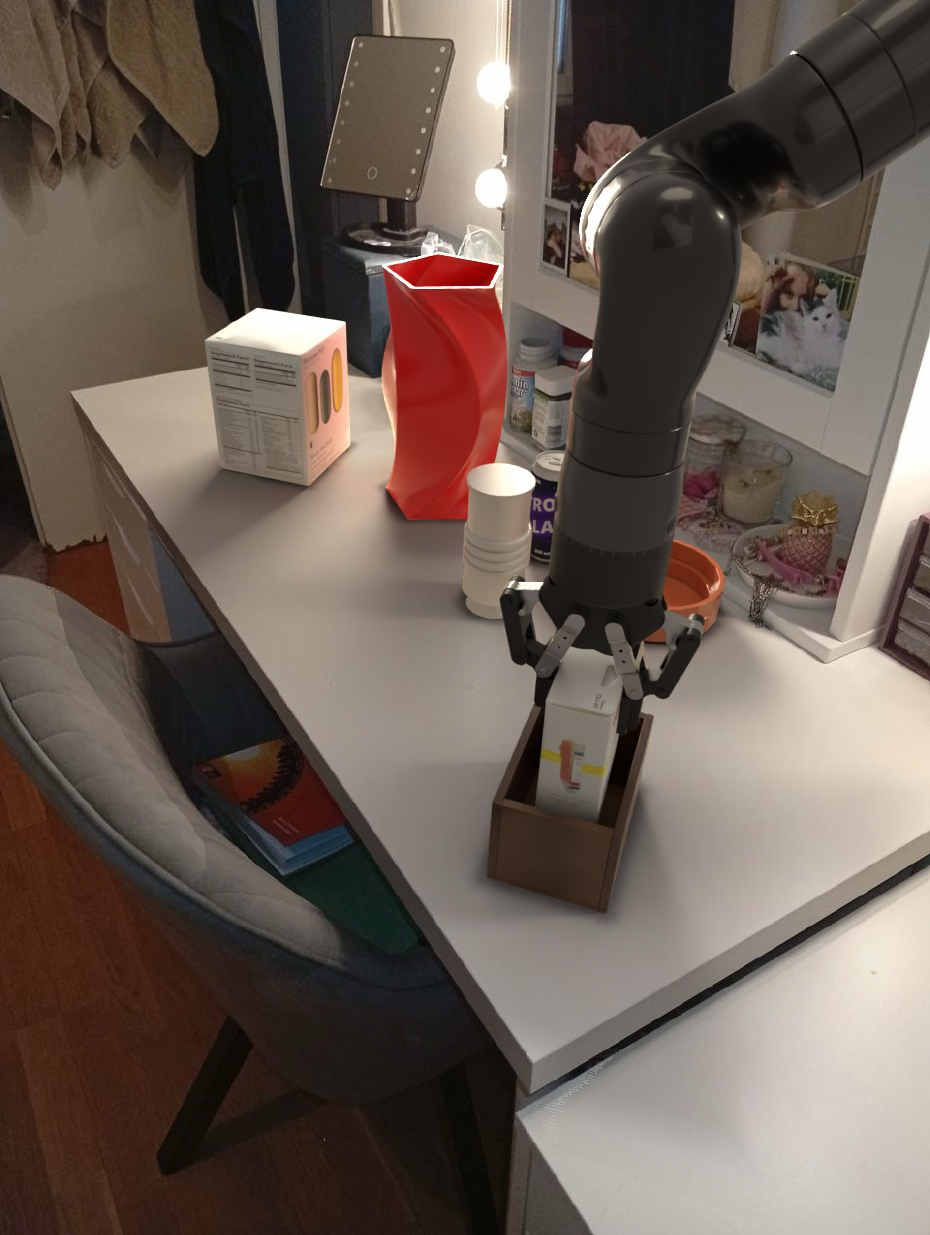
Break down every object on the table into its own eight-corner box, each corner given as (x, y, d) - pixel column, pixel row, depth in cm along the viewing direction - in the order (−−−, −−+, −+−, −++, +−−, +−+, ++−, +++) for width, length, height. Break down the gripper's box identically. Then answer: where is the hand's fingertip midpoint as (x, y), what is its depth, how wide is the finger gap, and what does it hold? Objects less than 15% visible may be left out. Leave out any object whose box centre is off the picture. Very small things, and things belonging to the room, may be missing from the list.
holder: (638, 788, 79) (654, 714, 74) (606, 914, 69) (622, 838, 64) (532, 760, 82) (540, 687, 77) (486, 878, 71) (492, 802, 66)
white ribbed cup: (531, 619, 98) (544, 494, 89) (466, 624, 97) (472, 498, 88) (517, 583, 104) (528, 461, 95) (456, 587, 103) (461, 464, 94)
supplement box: (309, 488, 119) (300, 355, 109) (219, 469, 122) (201, 339, 112) (352, 445, 129) (348, 320, 119) (267, 429, 132) (256, 306, 122)
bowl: (723, 584, 105) (731, 550, 102) (707, 658, 94) (716, 622, 91) (599, 558, 108) (604, 525, 106) (571, 627, 97) (575, 591, 95)
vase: (467, 535, 111) (476, 299, 95) (358, 509, 115) (349, 279, 99) (507, 480, 123) (523, 261, 106) (407, 458, 127) (407, 244, 110)
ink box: (557, 742, 76) (572, 627, 69) (616, 758, 75) (638, 642, 68) (529, 818, 70) (543, 700, 63) (594, 836, 68) (615, 718, 61)
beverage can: (526, 537, 111) (534, 446, 104) (573, 542, 111) (584, 451, 104) (521, 563, 107) (529, 469, 100) (571, 568, 106) (583, 474, 99)
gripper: (738, 509, 59) (690, 709, 69) (521, 468, 62) (505, 664, 73) (725, 570, 53) (675, 778, 63) (487, 522, 57) (475, 727, 67)
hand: (584, 716), depth 68 cm, fingers closed on ink box, 5 cm apart
